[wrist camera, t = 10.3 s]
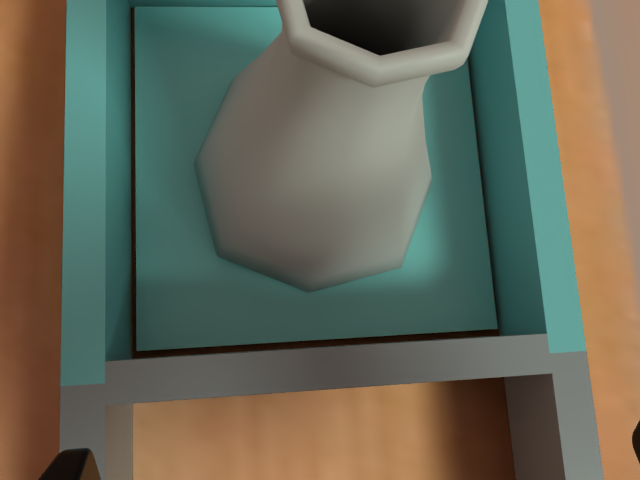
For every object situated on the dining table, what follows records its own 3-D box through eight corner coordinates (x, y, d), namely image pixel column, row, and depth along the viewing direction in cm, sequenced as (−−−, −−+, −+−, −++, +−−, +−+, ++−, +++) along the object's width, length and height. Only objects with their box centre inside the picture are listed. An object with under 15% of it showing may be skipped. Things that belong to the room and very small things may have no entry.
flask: (427, 300, 17) (648, 243, 8) (183, 286, 17) (76, 204, 7) (430, 76, 19) (621, -219, 9) (204, 55, 18) (140, -293, 8)
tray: (589, 817, 16) (665, 926, 13) (92, 899, 14) (49, 1044, 11) (487, -17, 20) (526, -80, 17) (98, -21, 18) (68, -90, 15)
